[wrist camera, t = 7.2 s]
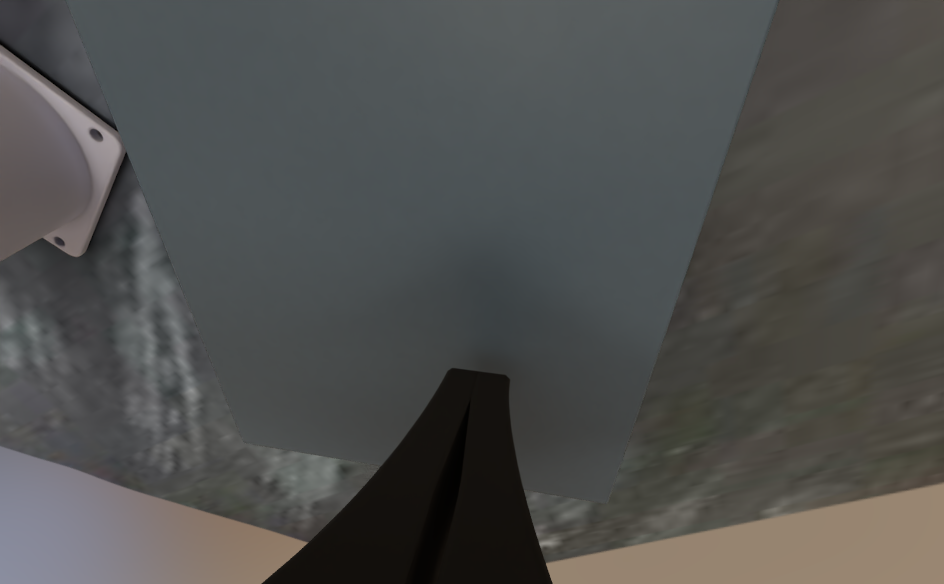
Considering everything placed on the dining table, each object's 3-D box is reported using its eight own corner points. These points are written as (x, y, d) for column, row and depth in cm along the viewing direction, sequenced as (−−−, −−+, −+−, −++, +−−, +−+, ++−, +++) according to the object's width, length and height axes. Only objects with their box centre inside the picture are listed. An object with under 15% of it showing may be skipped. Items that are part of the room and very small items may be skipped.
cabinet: (273, -55, 15) (45, -45, 9) (686, -40, 14) (786, -13, 7) (335, 300, 23) (242, 443, 17) (598, 334, 22) (607, 505, 15)
